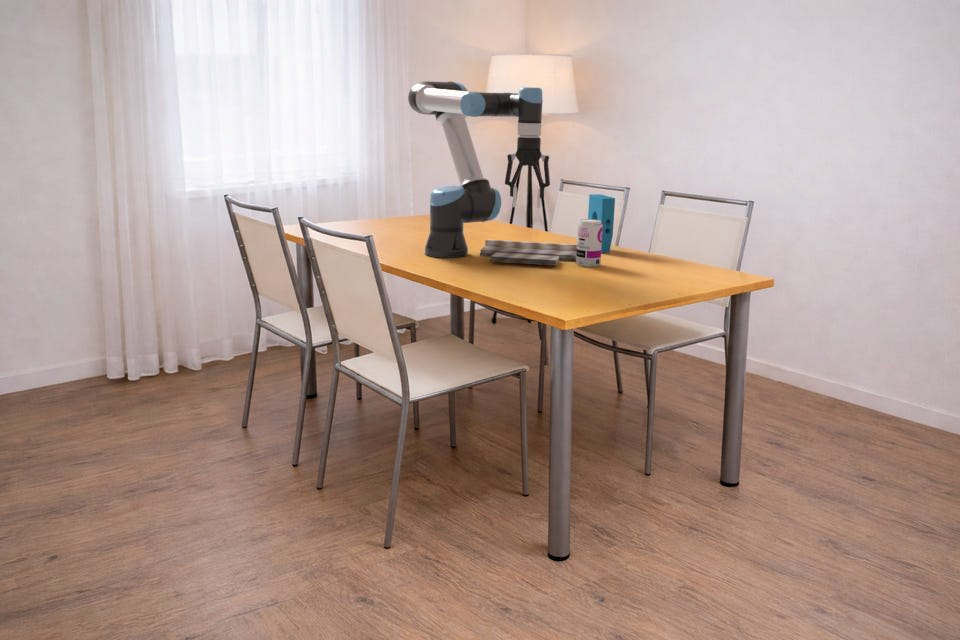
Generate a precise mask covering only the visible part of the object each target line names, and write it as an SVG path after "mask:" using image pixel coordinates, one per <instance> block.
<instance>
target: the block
mask: <svg viewBox="0 0 960 640" xmlns="http://www.w3.org/2000/svg"><path fill="white" fill-rule="evenodd" d="M588 195H589V196H588V209H587V211H588V213H587V215H588V216H587V219H594V220H600V221H601V223H602V225H603V230H602V247H601V254H608V253H610V250H611V248H612V247H611V246H612V241H613V236H614V224H615V223H614V222H615V221H614V220H615V207H616V206H615V205H616V198H615V197H613V196H609V195H605V194H602V193H601V194H600V193H597V194H593V193H592V194H590V193H589V194H588Z"/></svg>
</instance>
